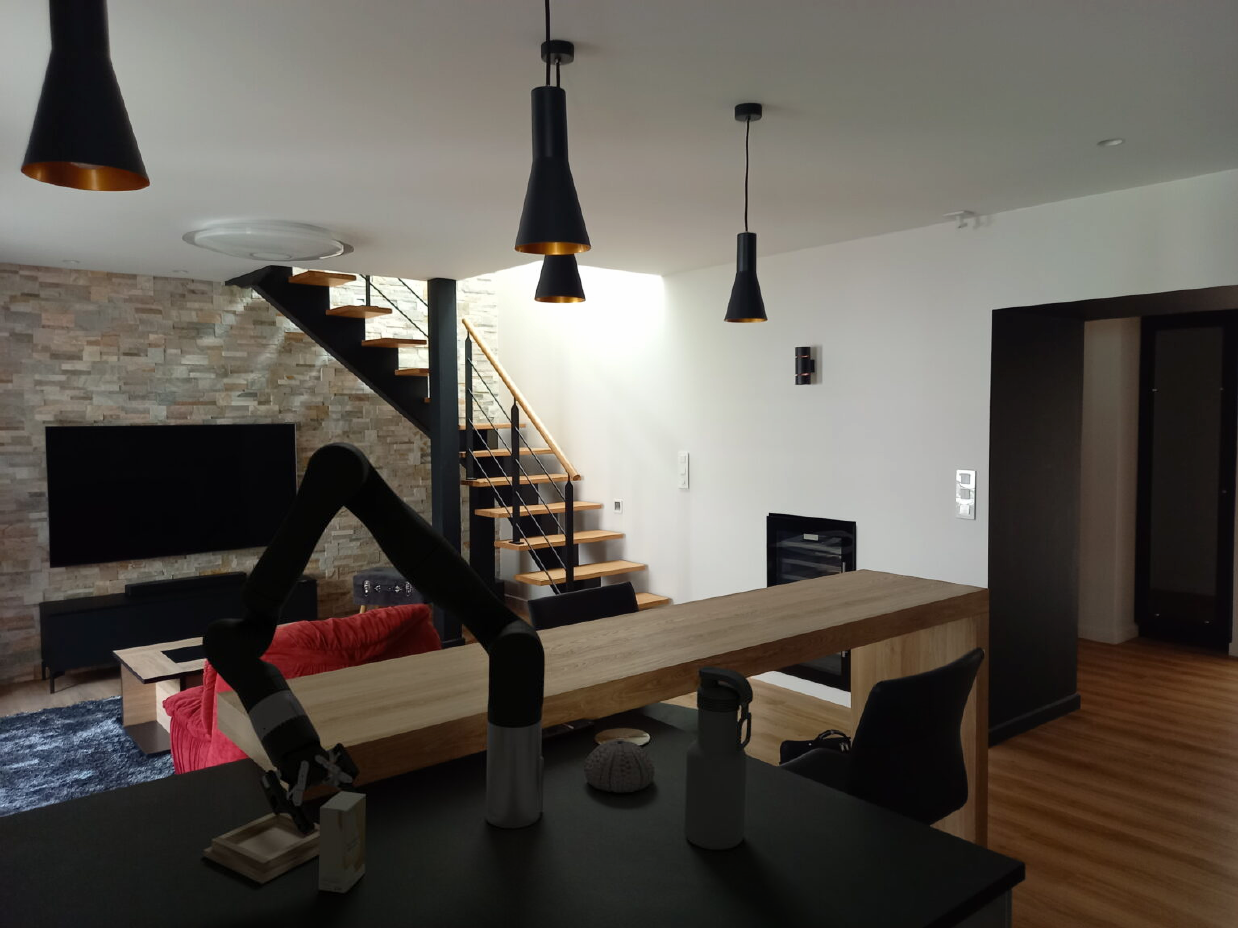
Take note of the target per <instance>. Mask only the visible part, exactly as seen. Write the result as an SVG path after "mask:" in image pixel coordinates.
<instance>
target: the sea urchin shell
mask: <svg viewBox="0 0 1238 928" xmlns="http://www.w3.org/2000/svg"><path fill="white" fill-rule="evenodd" d="M583 766H584V767H583V771H584V776H585V777H586V781H587V782H588V783H589V785H591V786H592V787H593V788H595V789H597V790H603V791H604V792H609V793H610V792H614V793H616V794H617V793H619V794H622V793H631V792H632V793H634V792H635V791H641V790H644V789H645V788H646V787H647V788H648V786H649V785H650V784H651V782H652V781H653V780H654V777H655V773H656V772H655V767H654V763H653V760H651V757H650V756H649V754H648V752H646V751H645V749H643V748H642V746H640V745H639V744H638V743H636V742H634V741H630V740H624V739H621V738H615V739H611V740H609V741H605V742H603V743H601V744H599V745H598V746H596V748H595V749H594V748H593V750H592V751H591V753H590V754H589V755H588V756H587V758H586V759H585V761H584V763H583Z"/></svg>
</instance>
